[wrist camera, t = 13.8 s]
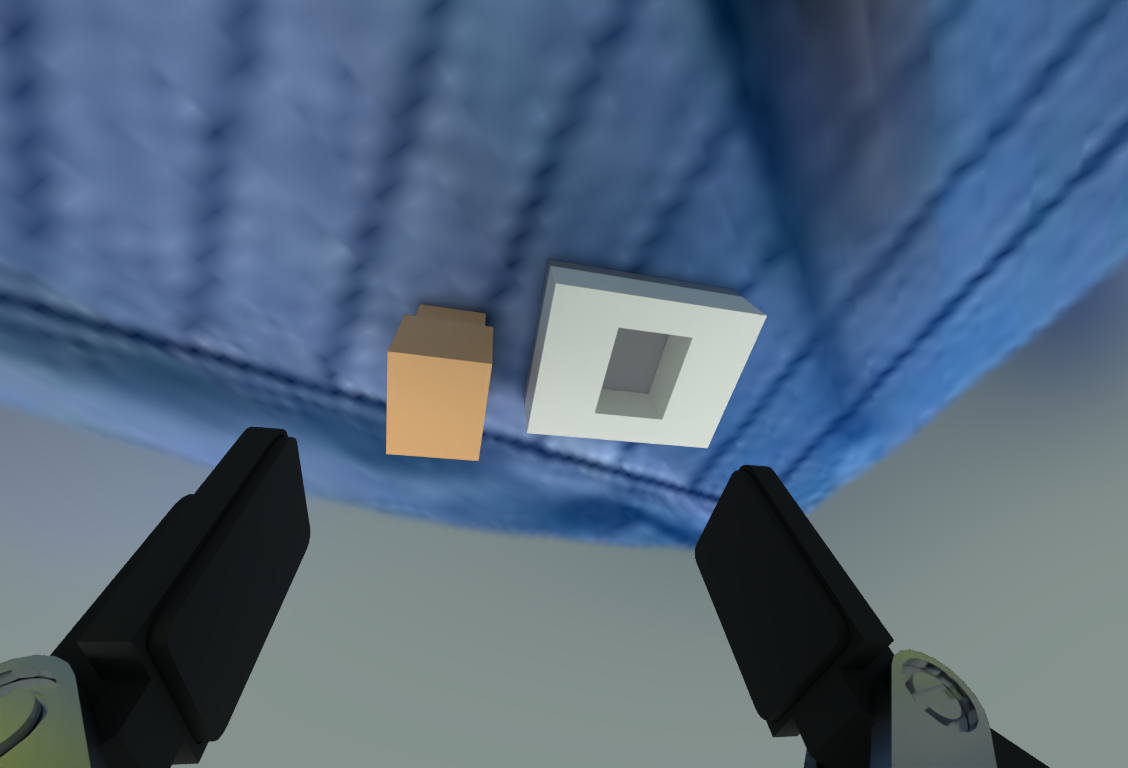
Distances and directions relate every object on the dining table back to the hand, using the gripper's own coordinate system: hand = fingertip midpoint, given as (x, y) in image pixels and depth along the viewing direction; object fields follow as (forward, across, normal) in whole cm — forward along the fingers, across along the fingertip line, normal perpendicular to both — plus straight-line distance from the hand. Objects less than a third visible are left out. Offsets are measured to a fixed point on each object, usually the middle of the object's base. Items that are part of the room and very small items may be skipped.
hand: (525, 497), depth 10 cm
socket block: (+23, -9, +7) cm, 26 cm away
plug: (+23, +4, +9) cm, 25 cm away
